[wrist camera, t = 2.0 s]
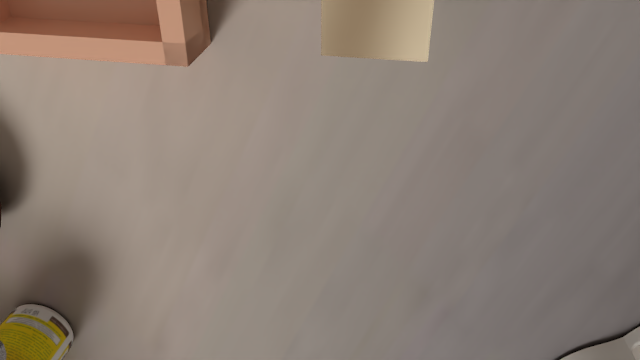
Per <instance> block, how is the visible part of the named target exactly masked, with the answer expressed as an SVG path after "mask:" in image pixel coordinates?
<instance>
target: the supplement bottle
mask: <svg viewBox="0 0 640 360" xmlns="http://www.w3.org/2000/svg"><path fill="white" fill-rule="evenodd" d="M0 341H1V342H2V343H3V344H4V347H5V350H6V360H62V359H63V358H64V356H65V355H66V353H67V352H68V351H69V349H70V347H71V346H72V343H73V332H72V329H71V327H70V325H69V324H68V322H67V321H66V320H65V319H64V318H63V317H62V316H61V315H60V314H58V313H57V312H55V311H54V310H52V309H50V308H47V307H44V306H41V305H36V304H26V305H22V306H19V307H17V308H16V309H14V310H13V311H12V312H11V313H10V314H9V316H8V317H7V318H6V319H5V320H4V322H3V323H2V324H1V325H0Z"/></svg>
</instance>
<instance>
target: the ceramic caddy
mask: <svg viewBox="0 0 640 360" xmlns="http://www.w3.org/2000/svg"><path fill="white" fill-rule="evenodd" d="M210 44H211V40H210V30H209V20H208V11H207V1H206V0H0V54H11V55H26V56H40V57H55V58H70V59H84V60H99V61H114V62H129V63H143V64H158V65H173V66H187V67H188V66H189V65H190V64H191V63H192V62H193V61H194V60H195V59H196V58H197V57H198V56H199V55H200V54H201V53H202V52H203V51H204V50H205V49H206V48H207V47H208V46H209V45H210Z"/></svg>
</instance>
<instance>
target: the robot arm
mask: <svg viewBox="0 0 640 360" xmlns="http://www.w3.org/2000/svg"><path fill="white" fill-rule="evenodd" d="M0 360H6V350H5V347H4V344H3V343H2V342H1V341H0ZM560 360H640V326H639V327H638V328H636V329H635V330H633V331H631V332H630V333H628V334H627V335H625V336H624V337H622V338H619V339H616V340H613V341H610V342H607V343H603V344H599V345H596V346H592V347H588V348H585V349H582V350H580V351H577V352H575V353H572V354H570V355H568V356H566V357H564V358H562V359H560Z"/></svg>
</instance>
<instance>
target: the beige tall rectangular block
mask: <svg viewBox="0 0 640 360" xmlns="http://www.w3.org/2000/svg"><path fill="white" fill-rule="evenodd" d="M433 6H434V0H321V55H325V56H341V57H357V58H373V59H389V60H405V61H420V62H428V53H429V44H430V34H431V25H432V16H433Z"/></svg>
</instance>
